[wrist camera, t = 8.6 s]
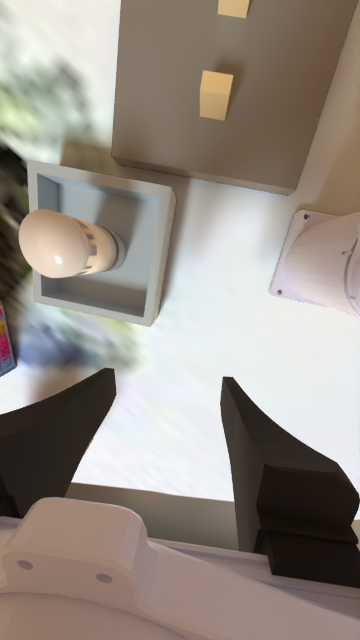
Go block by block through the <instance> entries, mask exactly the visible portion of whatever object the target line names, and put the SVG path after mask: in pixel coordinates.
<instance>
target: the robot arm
mask: <svg viewBox="0 0 360 640" xmlns="http://www.w3.org/2000/svg"><path fill="white" fill-rule="evenodd" d="M305 214H306V215H307V216H308V218H307V220H305V219H304V215H305ZM278 290H281V293H280V294H277V291H278ZM269 294H270V295H272V296H276V297H280V298H285V299H290V300H295V301H300V302H305V303H310V304H315V305H319V306H324V307H329V308H333V309H336V310H339V311H341V312H344V313H347V314H350V315H352V316H355V317H358V318H360V211H359V212H356V213H352V214H349V215H346V216H342V217H341V216H335V215H330V214H325V213H319V212H314V211H309V210H304V209H302V210H299V211H297V212H296V213H295V215H294V217H293V220H292V223H291V226H290V229H289V232H288V235H287V238H286V241H285V244H284V247H283V250H282V253H281V256H280V258H279V261H278V264H277V267H276V270H275V273H274V276H273V279H272V282H271V285H270V288H269ZM115 397H116V384H115V374H114V369H112V368H104V369H102V370H100V371H98V372H97V373H95V374H93V375H91V376H90V377H88V378H86V379H84V380H83V381H81V382H79V383H77V384H75V385H73V386H72V387H70V388H68V389H66V390H64V391H62V392H60V393H58V394H56V395H53V396H51V397H49V398H47V399H44V400H42V401H39V402H37V403H34V404H31V405H29V406H26V407H23V408H20V409H17V410H14V411H11V412H8V413H4V414H1V415H0V640H360V551H359V549H358V547H357V545H356V544H358V538H357V536H356V534H355V533H354V531H353V529H352V527H351V524H352V522H353V520H354V518H355V515H356V513H357V511H358V508H359V504H360V498H359V494H358V492H357V491H356V489H355V488H354V486H353V485H352V483H351V481H350V480H349V478H348V477H347V475H346V474H345V473H344V471H343V470H342V469H341V467H340V466H339V465H338V463H337V462H335V461H333V460H331V459H330V458H328V457H326V456H324V455H322V454H321V453H319V452H317V451H315V450H314V449H312V448H310V447H309V446H307V445H306V444H304V443H303V442H301V441H300V440H298V439H297V438H295V437H294V436H292V435H291V434H289V433H288V432H287V431H285V430H284V429H283V428H281V427H280V426H279V425H278V424H276V423H275V422H274V421H273V420H272V419H270V418H269V417H268V416H267V415H266V414H265V413H264V412H263V411H262V410H261V409H260V408H259V407H258V406H257V405H256V404H255V403H254V402H253V401H252V400H251V399H250V398H249V397H248V395H247V394H246V393H245V392H244V391H243V390H242V388H241V387H240V386H239V384H238V383H237V382H236V381H235V379H234V378H233V377H223V381H222V391H221V401H220V406H221V417H222V423H223V428H224V433H225V438H226V443H227V448H228V453H229V458H230V464H231V473H232V482H233V492H234V502H235V512H236V522H237V533H238V546H239V551H234V550H226V549H220V548H213V547H206V546H199V545H193V544H186V543H180V542H172V541H166V540H160V539H153V538H147V530H146V527H145V525H144V523H143V521H142V519H141V517H140V516H138V515H137V514H136V513H135V512H133V511H132V510H131V509H128V508H124V507H121V506H118V505H111V504H104V503H96V502H88V501H82V500H74V499H67V498H64V497H65V494H66V492H67V489H68V487H69V485H70V483H71V481H72V478H73V476H74V474H75V472H76V470H77V467H78V465H79V463H80V461H81V459H82V457H83V455H84V453H85V451H86V449H87V447H88V445H89V443H90V441H91V440H92V438H93V436H94V435H95V433H96V431H97V430H98V428H99V427H100V425H101V423H102V422H103V420H104V418H105V417H106V415H107V413H108V412H109V410H110V408H111V406H112V404H113V401H114V399H115Z"/></svg>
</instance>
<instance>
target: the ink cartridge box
mask: <svg viewBox="0 0 360 640" xmlns="http://www.w3.org/2000/svg"><path fill="white" fill-rule="evenodd" d="M15 368H16V364H15V360H14V355H13V350H12V345H11V340H10V335H9V330H8V325H7V320H6V315H5V310H4V305H3V302H2V301H1V300H0V377H1V376H3V375H5V374H6V373H8V372H10V371H11V370H13V369H15Z"/></svg>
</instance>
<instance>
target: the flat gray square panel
mask: <svg viewBox="0 0 360 640" xmlns="http://www.w3.org/2000/svg"><path fill="white" fill-rule="evenodd" d="M357 2H358V0H121V9H120V25H119V40H118V56H117V72H116V88H115V103H114V119H113V135H112V151H111V156H112V157H113V159H114V160H115V161H116V162H117V163H118V164H121V165H126V166H132V167H137V168H142V169H148V170H153V171H159V172H164V173H169V174H175V175H180V176H185V177H191V178H196V179H201V180H207V181H212V182H218V183H223V184H228V185H234V186H239V187H244V188H250V189H255V190H260V191H266V192H271V193H277V194H282V195H287V196H288V195H290V194H291V193H292V192H294V191H295V190H296V188H297V185H298V182H299V179H300V176H301V173H302V170H303V167H304V163H305V160H306V157H307V154H308V151H309V148H310V145H311V142H312V139H313V136H314V133H315V130H316V127H317V124H318V121H319V118H320V115H321V112H322V109H323V106H324V103H325V100H326V96H327V93H328V90H329V87H330V84H331V81H332V78H333V75H334V72H335V69H336V66H337V63H338V60H339V57H340V54H341V51H342V48H343V45H344V42H345V39H346V36H347V32H348V29H349V26H350V23H351V20H352V17H353V14H354V11H355V8H356V5H357Z"/></svg>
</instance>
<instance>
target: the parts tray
mask: <svg viewBox="0 0 360 640" xmlns="http://www.w3.org/2000/svg"><path fill="white" fill-rule="evenodd" d="M27 170H28V190H29V209H30V213H31V212H33V211H35V210H39V209H48V210H52V211H55V212H58V213H61V214H64V215H67V216H70V217H74V218H77V219H80V220H83V221H86V222H89V223H92V224H95V225H99V226H102V227H104V228H107V229H110V230H113V231H115V232H117V233H118V234H119V235H120V236H121V237H122V238H123V240H124V242H125V244H126V248H127V256H126V260H125V262H124V264H123V265H122V266H121V267H120V268H118V269H116V270H113V271H106V272H100V273H91V274H84V275H77V276H70V277H62V278H51V277H47V276H44V275H42V274H40V273H39V272H37V271H36V270H35V269H34V268H33V267H32V269H33V288H34V302H37V303H42V304H46V305H51V306H55V307H60V308H65V309H69V310H74V311H79V312H83V313H88V314H93V315H97V316H102V317H107V318H111V319H116V320H121V321H125V322H130V323H134V324H139V325H144V326H148V327H151V325H152V324H153V323H154V321H155V320H156V319H157V317H158V312H159V306H160V300H161V294H162V288H163V281H164V275H165V269H166V263H167V257H168V251H169V244H170V238H171V232H172V226H173V220H174V213H175V207H176V201H177V199H176V197H175V194H174V192H173V189H172V187H170V186H165V185H159V184H154V183H149V182H144V181H138V180H133V179H128V178H122V177H117V176H112V175H106V174H101V173H96V172H91V171H85V170H80V169H75V168H69V167H64V166H59V165H54V164H48V163H43V162H38V161H32V160H27Z"/></svg>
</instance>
